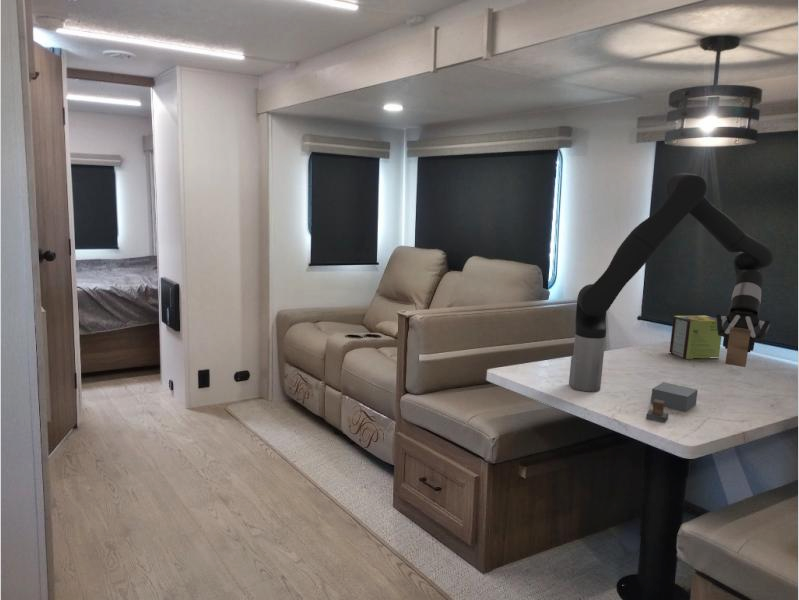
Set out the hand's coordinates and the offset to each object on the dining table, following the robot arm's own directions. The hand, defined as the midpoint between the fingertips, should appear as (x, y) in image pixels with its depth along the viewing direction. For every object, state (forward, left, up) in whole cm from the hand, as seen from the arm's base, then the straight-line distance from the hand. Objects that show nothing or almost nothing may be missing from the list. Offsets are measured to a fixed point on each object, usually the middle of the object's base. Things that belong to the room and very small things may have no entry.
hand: (737, 348), depth 173 cm
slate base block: (-12, +9, -20) cm, 25 cm away
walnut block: (+1, +2, -5) cm, 5 cm away
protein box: (+22, +72, -20) cm, 78 cm away
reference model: (-22, -5, -20) cm, 30 cm away
